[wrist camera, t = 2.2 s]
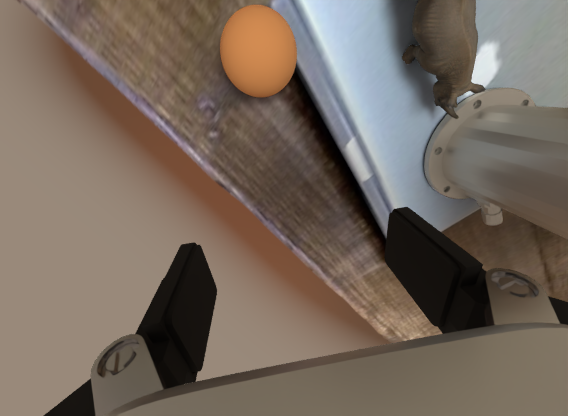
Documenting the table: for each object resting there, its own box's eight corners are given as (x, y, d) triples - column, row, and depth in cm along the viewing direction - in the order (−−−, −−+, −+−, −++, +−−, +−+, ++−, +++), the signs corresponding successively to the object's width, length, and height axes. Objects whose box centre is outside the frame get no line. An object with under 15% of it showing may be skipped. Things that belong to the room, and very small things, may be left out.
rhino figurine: (415, 127, 25) (458, 136, 20) (378, -21, 19) (425, -65, 14) (451, 107, 24) (504, 111, 19) (424, -53, 18) (493, -111, 13)
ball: (302, 74, 21) (317, 68, 16) (250, 109, 22) (247, 114, 17) (269, 1, 19) (274, -34, 13) (211, 44, 20) (194, 27, 14)
